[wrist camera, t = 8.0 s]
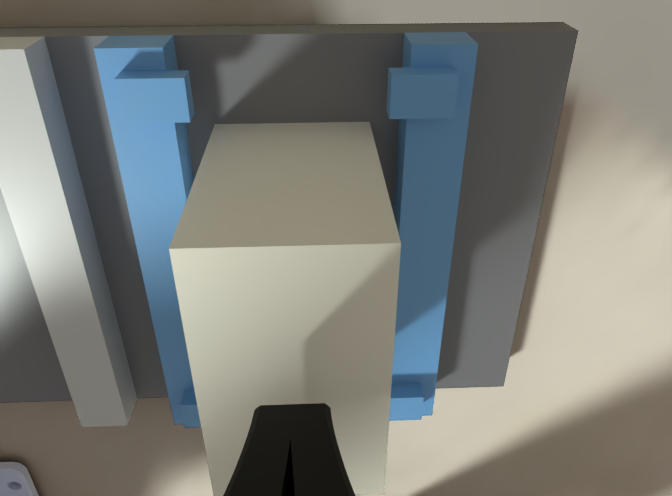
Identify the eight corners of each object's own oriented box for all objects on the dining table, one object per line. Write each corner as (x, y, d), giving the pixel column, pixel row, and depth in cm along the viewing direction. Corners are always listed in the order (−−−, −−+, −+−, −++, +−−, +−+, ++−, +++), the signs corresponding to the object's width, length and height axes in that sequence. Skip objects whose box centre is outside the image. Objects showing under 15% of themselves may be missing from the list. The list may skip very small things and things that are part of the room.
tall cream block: (363, 329, 19) (384, 493, 14) (238, 332, 19) (214, 500, 14) (369, 121, 15) (401, 243, 10) (214, 124, 15) (168, 248, 10)
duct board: (495, 366, 22) (519, 426, 19) (-180, 387, 21) (-243, 453, 18) (563, 22, 15) (610, 48, 13) (-412, 32, 14) (-555, 63, 12)
